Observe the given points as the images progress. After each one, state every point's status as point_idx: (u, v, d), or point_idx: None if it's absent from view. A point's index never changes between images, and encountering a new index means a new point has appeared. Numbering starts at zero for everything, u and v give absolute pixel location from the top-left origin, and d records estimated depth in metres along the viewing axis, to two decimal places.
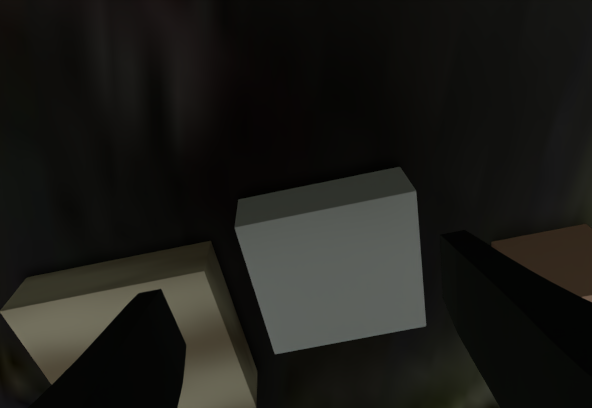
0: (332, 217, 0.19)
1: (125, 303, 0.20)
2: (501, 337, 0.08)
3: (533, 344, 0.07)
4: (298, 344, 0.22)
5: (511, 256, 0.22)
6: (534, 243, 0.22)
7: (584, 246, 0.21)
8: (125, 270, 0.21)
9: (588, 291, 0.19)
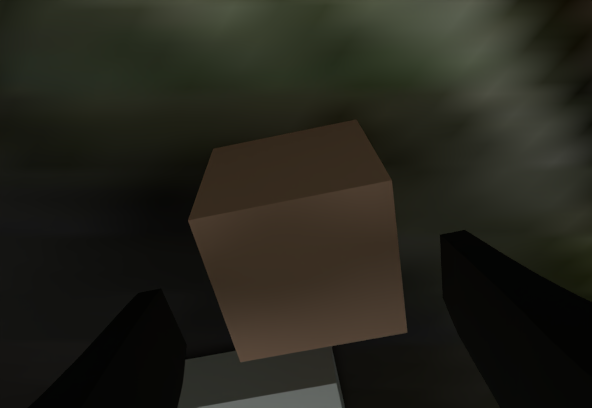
0: None
1: None
2: (501, 337, 0.08)
3: (533, 344, 0.07)
4: None
5: None
6: None
7: None
8: None
9: (221, 304, 0.12)
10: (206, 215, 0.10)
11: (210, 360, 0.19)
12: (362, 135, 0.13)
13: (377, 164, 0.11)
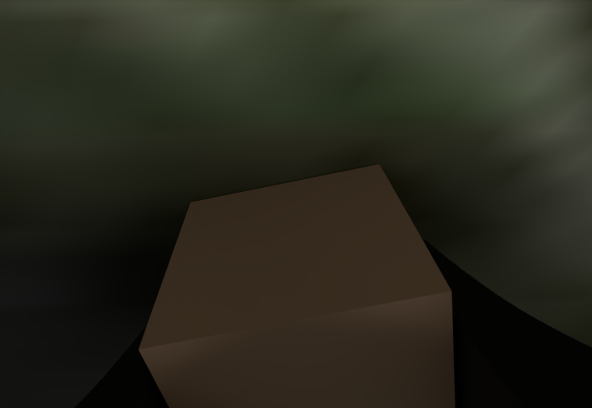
0: None
1: None
2: None
3: (469, 355, 0.07)
4: None
5: None
6: None
7: None
8: None
9: None
10: (166, 341, 0.07)
11: None
12: (391, 194, 0.10)
13: (422, 254, 0.07)
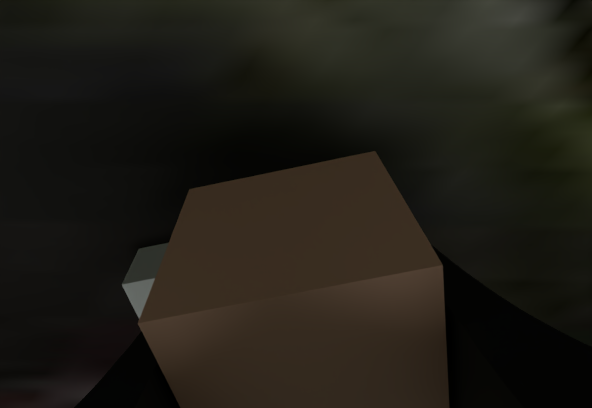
0: None
1: None
2: (447, 346, 0.08)
3: (470, 355, 0.07)
4: None
5: None
6: None
7: None
8: None
9: None
10: (165, 315, 0.07)
11: None
12: (387, 178, 0.10)
13: (415, 232, 0.08)
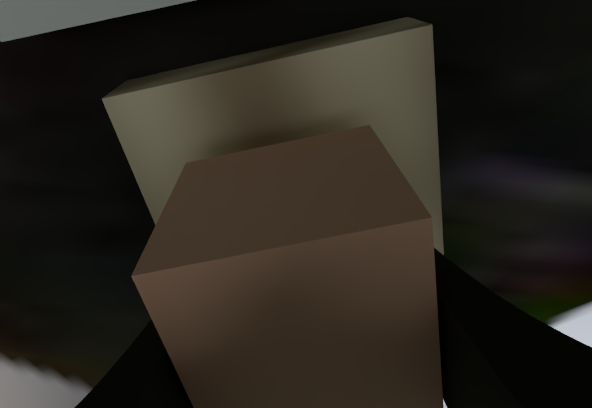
0: None
1: None
2: (447, 346, 0.08)
3: (469, 355, 0.07)
4: None
5: None
6: None
7: None
8: None
9: (188, 383, 0.09)
10: (158, 268, 0.07)
11: None
12: (380, 147, 0.10)
13: (406, 191, 0.08)
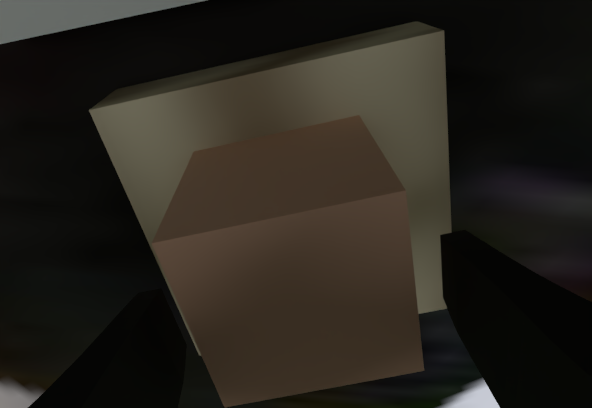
0: None
1: None
2: (501, 336, 0.08)
3: (533, 344, 0.07)
4: None
5: None
6: None
7: None
8: None
9: (199, 340, 0.10)
10: (174, 236, 0.08)
11: None
12: (366, 134, 0.11)
13: (386, 170, 0.09)
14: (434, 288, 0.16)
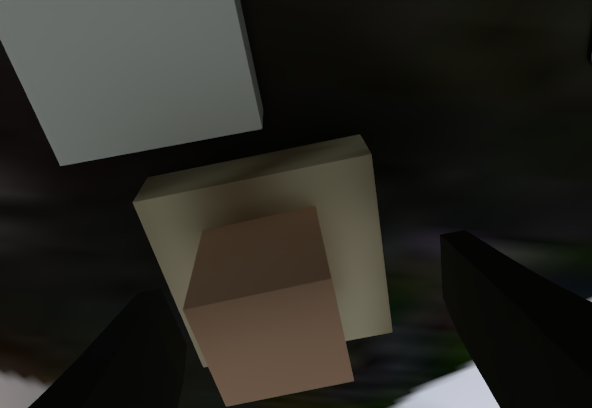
0: (19, 49, 0.15)
1: (186, 276, 0.20)
2: (501, 336, 0.08)
3: (533, 344, 0.07)
4: (244, 96, 0.16)
5: None
6: None
7: None
8: None
9: (210, 364, 0.16)
10: (196, 305, 0.14)
11: None
12: (317, 226, 0.17)
13: (323, 260, 0.15)
14: (376, 318, 0.22)
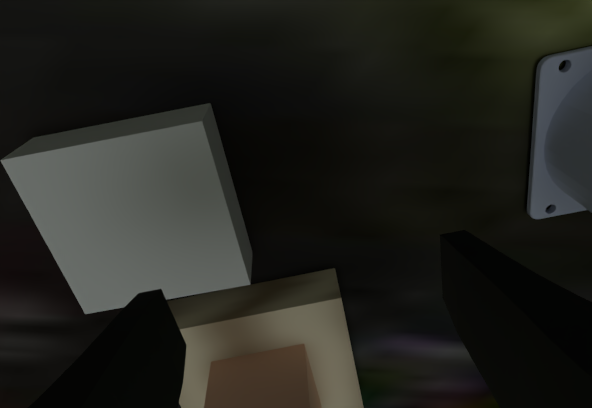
0: (54, 237, 0.18)
1: (189, 387, 0.23)
2: (501, 336, 0.08)
3: (533, 344, 0.07)
4: (235, 263, 0.19)
5: None
6: None
7: None
8: None
9: None
10: None
11: (88, 128, 0.19)
12: (304, 370, 0.21)
13: None
14: None
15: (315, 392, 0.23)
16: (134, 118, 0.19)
